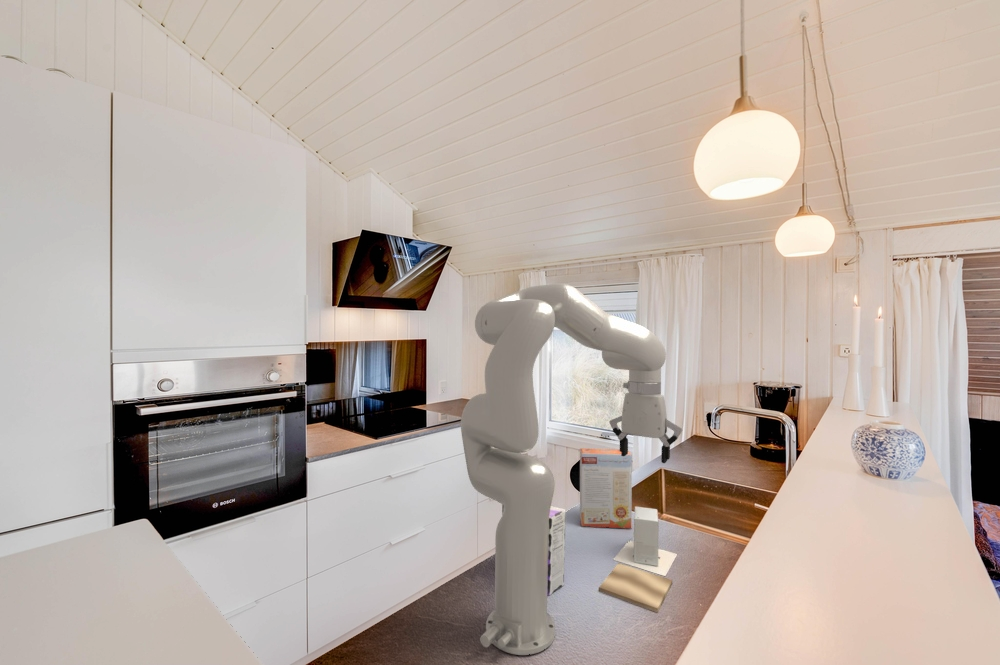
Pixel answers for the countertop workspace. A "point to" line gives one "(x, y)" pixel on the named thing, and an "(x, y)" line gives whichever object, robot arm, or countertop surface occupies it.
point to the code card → (663, 564)
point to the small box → (646, 536)
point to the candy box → (555, 548)
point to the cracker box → (605, 488)
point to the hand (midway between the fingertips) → (644, 458)
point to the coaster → (636, 587)
